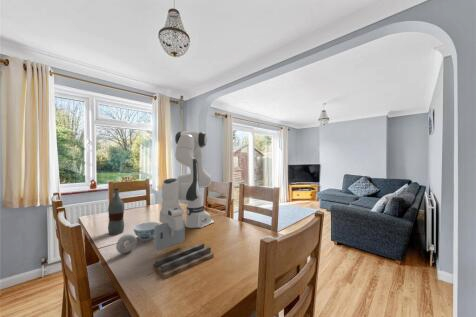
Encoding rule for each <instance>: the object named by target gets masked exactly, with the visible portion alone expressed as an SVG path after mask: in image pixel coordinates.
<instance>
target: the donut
mask: <svg viewBox="0 0 476 317" xmlns="http://www.w3.org/2000/svg"><path fill="white" fill-rule="evenodd" d="M127 241H129V243H128V245H126V246H125V243H126V242H127ZM137 242H138V240H137V237H136V236H135V235H134V234H132V233H126V234H124V235H121V236H120V238H119V239H118V240H117V241H116V245H115V247H116V250H117V252H118V253H120V254H125V255H126V254H128V253H130V252H131V251H133V250H134V248H135V247H136V245H137Z"/></svg>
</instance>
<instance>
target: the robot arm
mask: <svg viewBox="0 0 476 317" xmlns="http://www.w3.org/2000/svg"><path fill="white" fill-rule="evenodd" d="M174 138H175V140H174V141H175V144H176V146H175V153H174V157H175V159H176V161H177V162H178V163H180V164H181V165H183V166H185V167H187V168H189V171H190V173H183V174H179V175H178V177H177V178H175V177H174V178H167V179H164V180H163V181H162V186H161V187H162V188H161V198H162V199H161V200H162V201H161V210H160V211H159V220H158V221H159V222H160V223H161V224H164V223H167V224H168V227H170V228H171V232H170V235H171V236H173V235H174V232H175V231H179V230H182V228H183V219H184V216H183V215H184V214H185V213H184V210H183V209H182V207H181V206H180V201H186V210H185V211H186V216H185V217H186V219H185V228H190V229H196V228H197V229H203V228H204V226H205V227H207V226H209V224H210V225H212V224H214V223H215V221H214V220H213V219H212V218H211V214H210V213H209V212H207V211H206V209H207V206H206V205H203V197H202V194H201V193H200V188H201V189H202V188H203V189H204V188H208V187H210V186H211V184H212V182H213V179H212V176H211V174H210V173H208V172H207V171H206V170H205V168H204V165H203V163H204V162H203V148H204V147H205V146H206V145H207V143H208V136H207V133H206V132H204V131H196V130H194V131H193V130H190V131H189V130H187V131H186V130H185V131H183V130H181V131H178V132H177V133H176V134H175V136H174ZM211 223H212V224H211Z"/></svg>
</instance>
